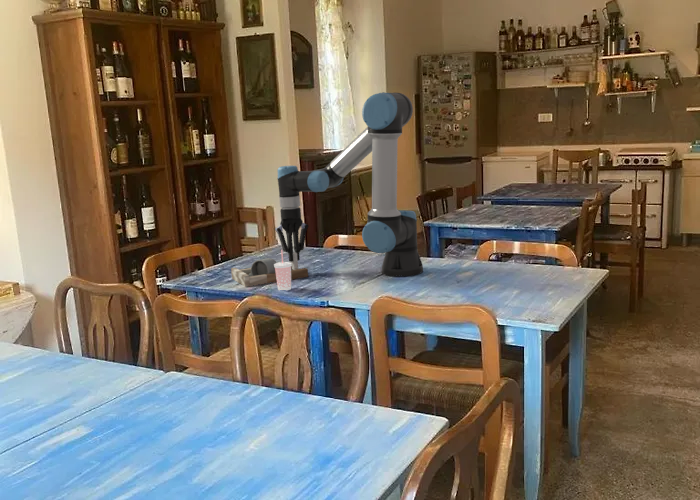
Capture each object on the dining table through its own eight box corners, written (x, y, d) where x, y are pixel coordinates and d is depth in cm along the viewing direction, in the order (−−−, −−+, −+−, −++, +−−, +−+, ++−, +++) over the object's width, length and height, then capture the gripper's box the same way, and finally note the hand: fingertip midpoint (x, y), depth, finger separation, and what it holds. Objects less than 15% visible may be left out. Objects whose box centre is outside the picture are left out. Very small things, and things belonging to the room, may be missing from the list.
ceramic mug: (280, 276, 267) (278, 256, 265) (269, 281, 260) (267, 260, 258) (256, 275, 271) (254, 256, 270) (244, 280, 264) (242, 260, 263)
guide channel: (308, 276, 264) (307, 266, 264) (245, 286, 254) (244, 275, 253) (292, 269, 279) (291, 259, 278) (232, 278, 268) (231, 268, 268)
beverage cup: (290, 291, 244) (287, 251, 242) (273, 291, 246) (270, 251, 243) (295, 286, 250) (292, 247, 248) (278, 286, 251) (275, 247, 249)
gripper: (302, 204, 272) (307, 265, 276) (270, 208, 266) (275, 270, 271) (310, 206, 265) (314, 268, 270) (277, 210, 260) (282, 273, 264)
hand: (295, 269), depth 270 cm, fingers closed
